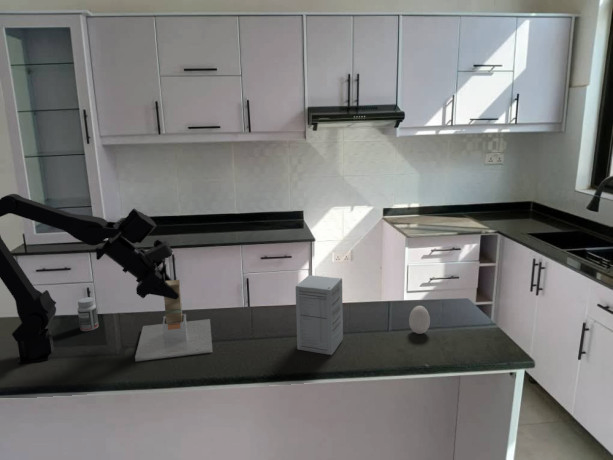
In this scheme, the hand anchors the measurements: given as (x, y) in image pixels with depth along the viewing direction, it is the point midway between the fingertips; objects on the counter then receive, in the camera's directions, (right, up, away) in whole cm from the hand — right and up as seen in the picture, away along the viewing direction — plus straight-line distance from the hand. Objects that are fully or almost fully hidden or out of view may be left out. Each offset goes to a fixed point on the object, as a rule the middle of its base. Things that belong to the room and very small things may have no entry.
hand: (178, 294), depth 118 cm
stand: (-1, -12, +2) cm, 13 cm away
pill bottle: (-28, -11, +11) cm, 32 cm away
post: (-1, -7, +1) cm, 7 cm away
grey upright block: (+36, -13, -1) cm, 39 cm away
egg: (+63, -11, +5) cm, 64 cm away
